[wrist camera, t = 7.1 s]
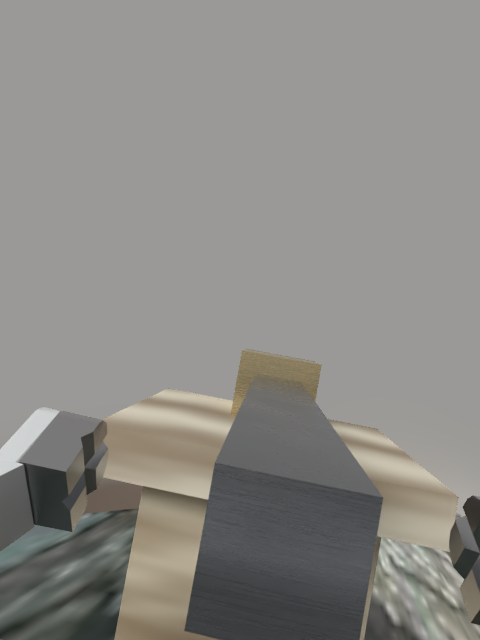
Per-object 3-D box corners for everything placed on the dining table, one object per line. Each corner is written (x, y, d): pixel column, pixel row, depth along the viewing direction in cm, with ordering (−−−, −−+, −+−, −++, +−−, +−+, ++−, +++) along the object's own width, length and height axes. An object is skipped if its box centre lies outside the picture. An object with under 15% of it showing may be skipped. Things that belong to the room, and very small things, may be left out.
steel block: (421, 688, 6) (462, 434, 6) (122, 615, 6) (167, 377, 6) (302, 414, 28) (312, 360, 28) (237, 401, 28) (247, 348, 28)
